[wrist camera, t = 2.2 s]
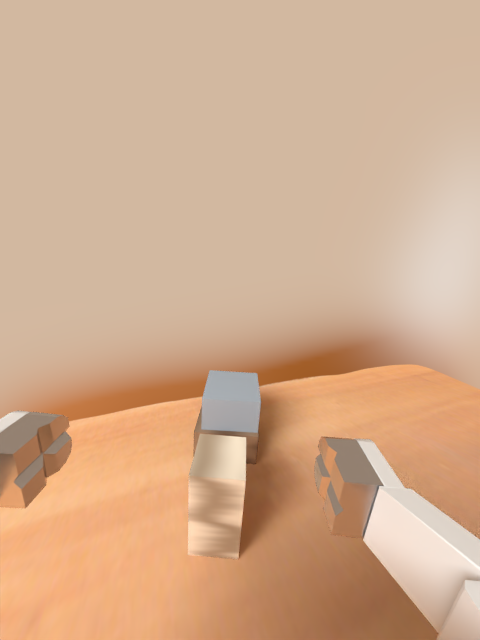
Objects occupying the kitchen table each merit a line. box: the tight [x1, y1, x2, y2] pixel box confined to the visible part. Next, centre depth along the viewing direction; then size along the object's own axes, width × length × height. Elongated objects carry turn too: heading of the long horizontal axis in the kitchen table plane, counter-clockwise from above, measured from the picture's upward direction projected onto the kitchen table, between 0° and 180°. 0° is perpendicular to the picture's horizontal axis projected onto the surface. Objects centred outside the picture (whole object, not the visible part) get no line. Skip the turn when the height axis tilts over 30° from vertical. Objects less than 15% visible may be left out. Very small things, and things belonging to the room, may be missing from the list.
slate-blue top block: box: [201, 371, 261, 433], centre depth 36 cm, size 8×8×5 cm
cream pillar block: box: [188, 434, 246, 559], centre depth 24 cm, size 5×5×10 cm
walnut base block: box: [194, 407, 259, 464], centre depth 38 cm, size 9×9×5 cm
